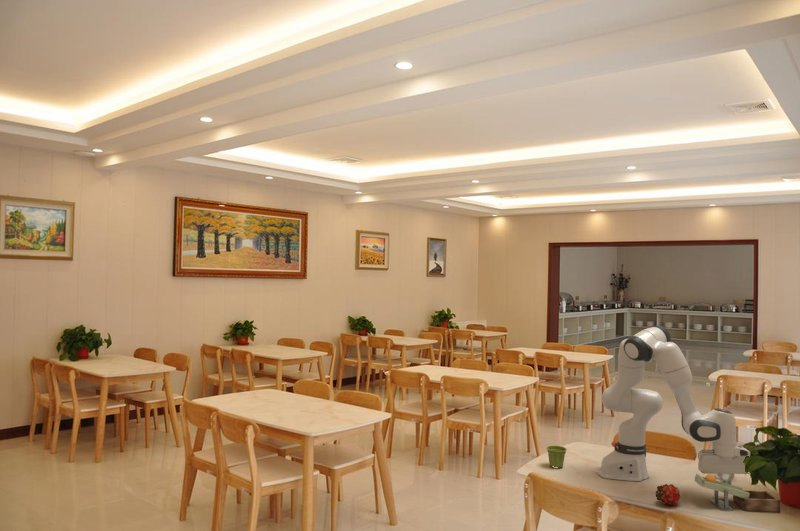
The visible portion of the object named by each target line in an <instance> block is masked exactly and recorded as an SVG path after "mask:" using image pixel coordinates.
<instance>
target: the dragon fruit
mask: <svg viewBox="0 0 800 531" xmlns="http://www.w3.org/2000/svg"><path fill="white" fill-rule="evenodd" d="M656 487H657V488H656V491H655V497H656V500H657V501H659V502H660V501H661V504H662V505H665V506H666V507H667V506H668V505H670V506H676V505H677V503H678V502H679V500H680V499H681V496H682V495H681V494H680V490H679V488H678V487H677V486H675V485H674V484H673V483H670V484H667V483H664V484H663V485H658V486H656Z"/></svg>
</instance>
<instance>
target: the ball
mask: <svg viewBox="0 0 800 531" xmlns="http://www.w3.org/2000/svg"><path fill="white" fill-rule="evenodd" d="M705 481H708V482H711V483H716V481H717V478H716V477H715V474H707V475H705Z"/></svg>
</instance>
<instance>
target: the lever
mask: <svg viewBox="0 0 800 531" xmlns="http://www.w3.org/2000/svg"><path fill="white" fill-rule="evenodd" d="M705 477H706V476H705ZM705 477H704V476H701V475H700V474H698V473H696V474H695V477H694V482H695V483H697V484H698V485H699V486H700V487H703V488H706V489H710V490H713V491H714V490H716V491H718V492H720V493H724V490H727V491H728V495H731V496H733V495H734V496H738V497H742V498H746V499H748V498H749V494H750V493H748V492H744V491H745V490H744V491H742V490H743V487H741V486H737V485H730V484H726V483H723V482H720V481H718V480H716V483H711V482H708V481H705Z"/></svg>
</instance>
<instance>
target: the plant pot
mask: <svg viewBox="0 0 800 531" xmlns="http://www.w3.org/2000/svg"><path fill="white" fill-rule="evenodd" d="M546 450H547V454H548V463H549V466H550V465H551V466H554V467H564V463H565V456H566V453H567V450H568V448H566V447H564V446H561V445H548V446H546ZM551 466H550V467H551Z"/></svg>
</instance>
